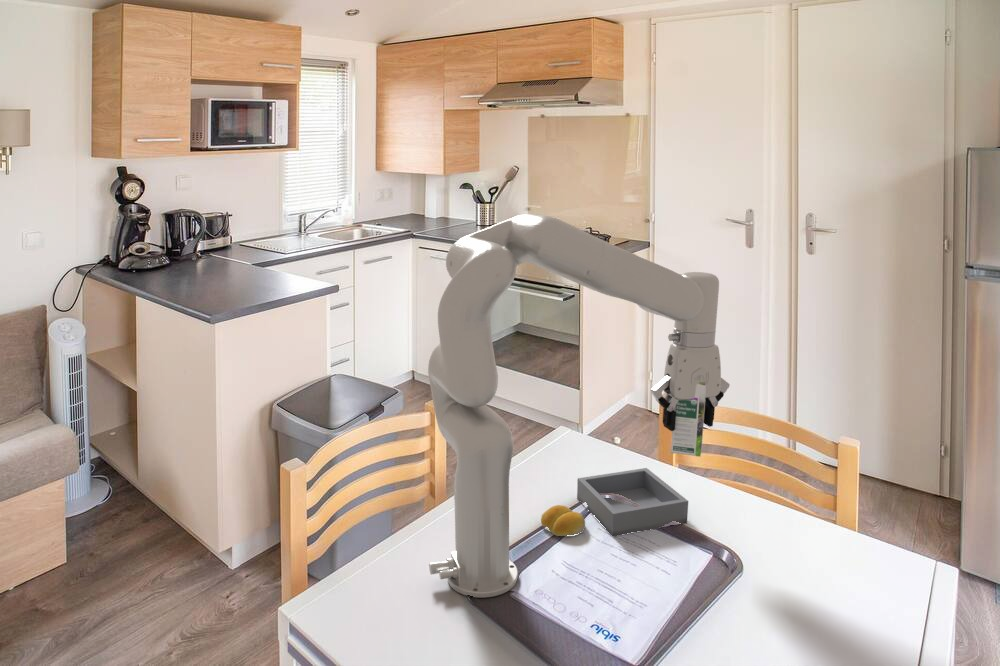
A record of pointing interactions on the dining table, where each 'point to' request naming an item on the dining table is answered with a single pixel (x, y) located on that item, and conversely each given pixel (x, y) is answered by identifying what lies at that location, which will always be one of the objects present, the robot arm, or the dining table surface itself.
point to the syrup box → (689, 424)
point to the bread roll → (563, 521)
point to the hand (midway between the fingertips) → (687, 425)
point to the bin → (639, 487)
